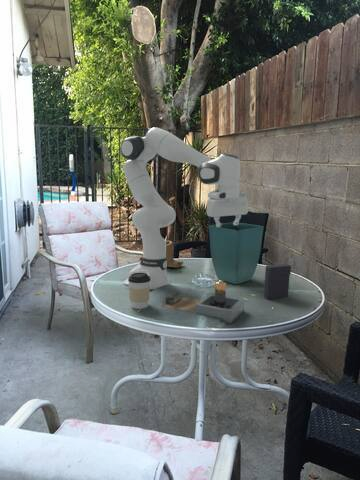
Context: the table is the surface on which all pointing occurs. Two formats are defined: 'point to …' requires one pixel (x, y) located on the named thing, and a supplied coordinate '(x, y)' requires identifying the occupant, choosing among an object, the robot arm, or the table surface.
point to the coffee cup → (139, 290)
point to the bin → (223, 313)
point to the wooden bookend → (171, 256)
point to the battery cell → (220, 294)
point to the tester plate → (180, 302)
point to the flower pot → (235, 251)
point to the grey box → (277, 281)
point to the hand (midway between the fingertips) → (227, 226)
